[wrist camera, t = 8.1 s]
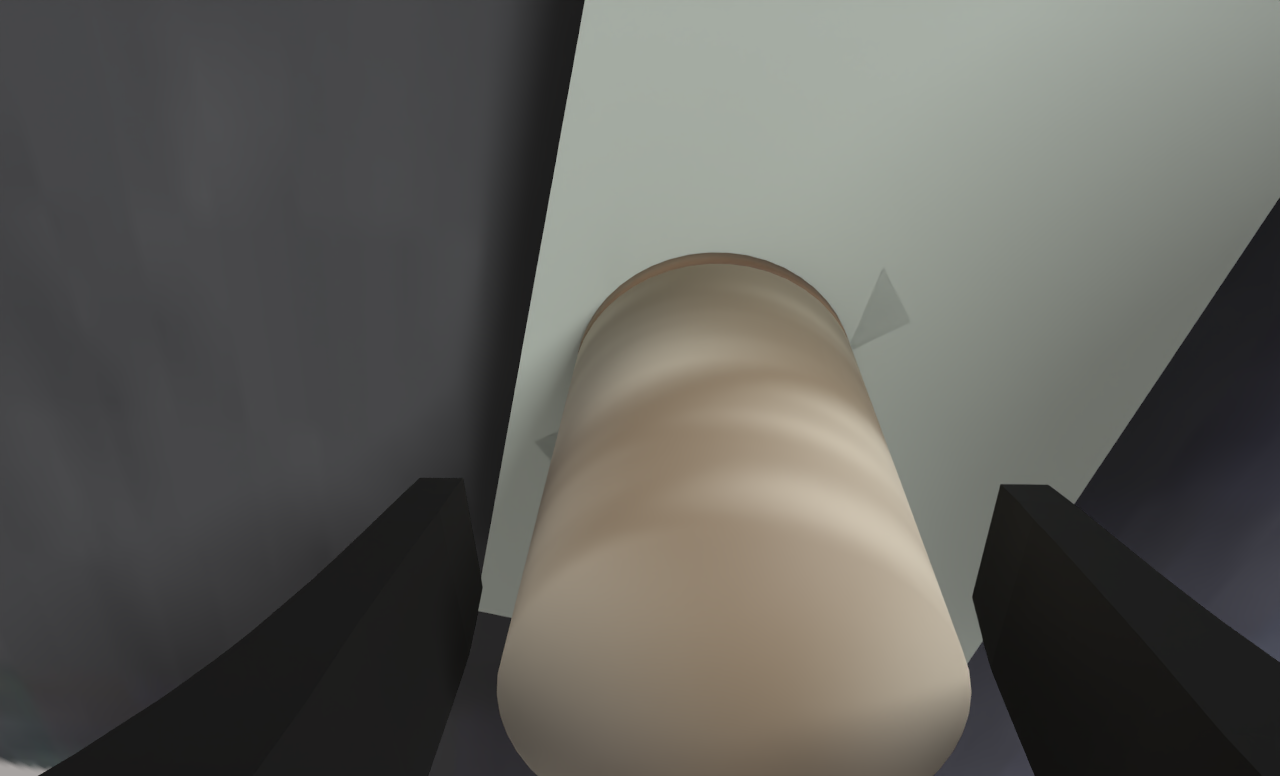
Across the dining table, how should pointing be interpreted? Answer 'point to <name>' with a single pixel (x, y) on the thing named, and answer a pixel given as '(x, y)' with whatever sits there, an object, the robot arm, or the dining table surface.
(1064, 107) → the board
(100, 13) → the dining table surface
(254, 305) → the dining table surface
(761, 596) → the peg
